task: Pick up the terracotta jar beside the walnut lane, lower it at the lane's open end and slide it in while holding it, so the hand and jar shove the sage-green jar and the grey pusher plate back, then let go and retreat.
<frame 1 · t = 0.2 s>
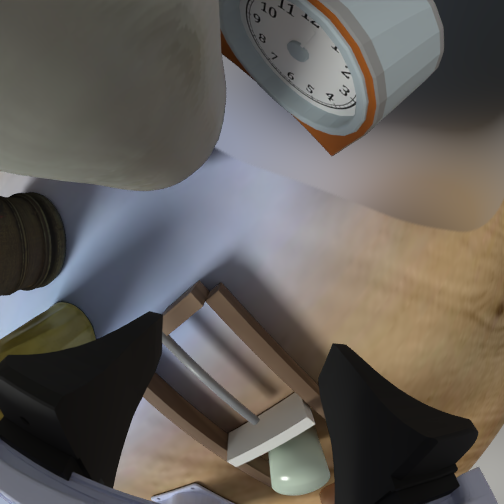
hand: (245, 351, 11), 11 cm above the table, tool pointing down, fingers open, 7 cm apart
vase: (72, 331, 22), on the table
alarm clock: (299, 67, 20), on the table
pusher: (216, 387, 20), point 2 cm above the table, slide at 0.0 cm
container: (35, 239, 21), on the table
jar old: (291, 435, 24), on the table
lane: (253, 404, 23), on the table
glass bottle: (169, 134, 20), on the table
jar: (337, 490, 26), on the table
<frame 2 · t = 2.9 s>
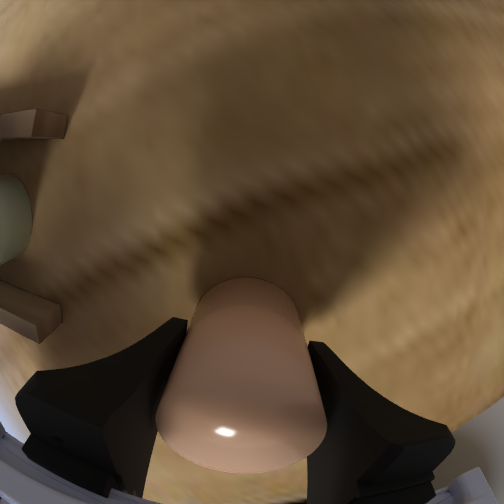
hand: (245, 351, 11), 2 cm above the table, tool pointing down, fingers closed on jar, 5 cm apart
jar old: (7, 216, 12), on the table
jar: (246, 326, 13), on the table, touching gripper
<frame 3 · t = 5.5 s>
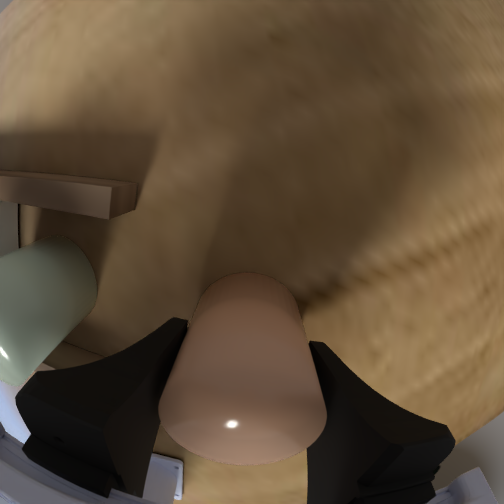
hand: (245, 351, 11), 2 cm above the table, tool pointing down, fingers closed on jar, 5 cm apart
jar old: (61, 278, 13), on the table
lane: (0, 258, 13), on the table
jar: (247, 321, 13), on the table, touching gripper
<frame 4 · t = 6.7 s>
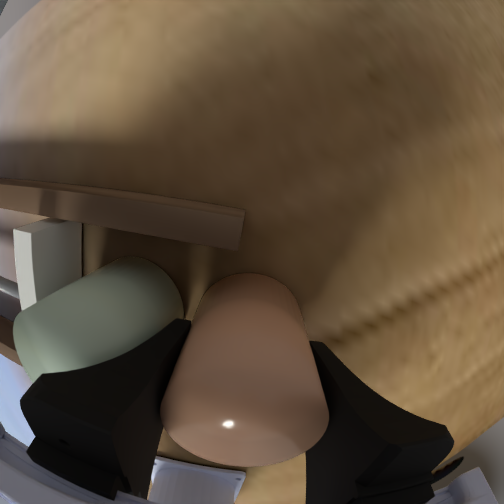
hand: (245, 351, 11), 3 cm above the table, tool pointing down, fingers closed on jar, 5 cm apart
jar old: (138, 304, 13), on the table, tilted 7°, touching gripper
lane: (51, 281, 13), on the table
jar: (248, 321, 13), on the table, touching gripper
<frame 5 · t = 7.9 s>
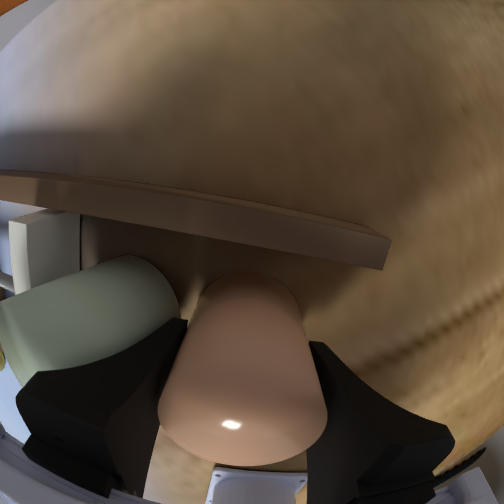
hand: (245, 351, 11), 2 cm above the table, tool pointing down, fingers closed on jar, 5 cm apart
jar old: (136, 307, 12), point 1 cm above the table, tilted 16°, touching gripper, pusher
lane: (127, 297, 13), on the table
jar: (247, 320, 13), on the table, touching gripper
when the fingers open (3 cm above the table, at t = 9.3 s): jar stays where it is, on the table.
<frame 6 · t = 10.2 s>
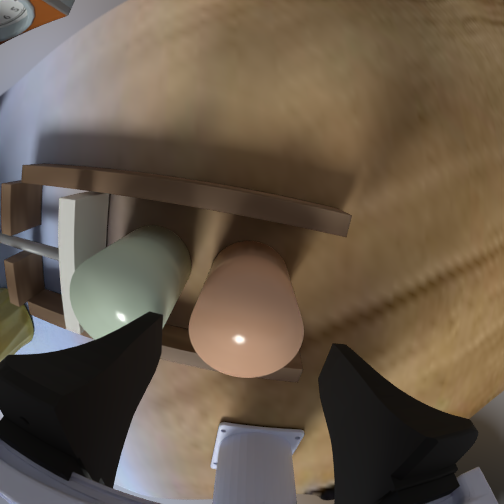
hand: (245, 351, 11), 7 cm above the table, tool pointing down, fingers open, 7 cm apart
vase: (15, 314, 20), on the table
alarm clock: (28, 6, 11), on the table
pusher: (19, 243, 15), point 2 cm above the table, slide at 6.4 cm
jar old: (154, 262, 18), on the table
lane: (158, 263, 18), on the table
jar: (249, 278, 18), on the table
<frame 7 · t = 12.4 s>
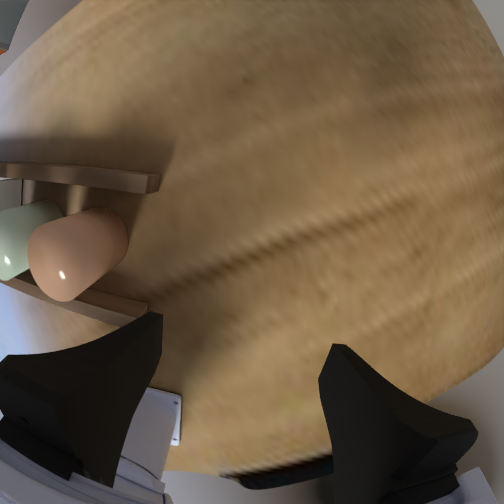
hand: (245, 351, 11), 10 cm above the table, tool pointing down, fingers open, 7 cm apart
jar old: (46, 228, 20), on the table
lane: (48, 228, 20), on the table
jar: (101, 238, 20), on the table
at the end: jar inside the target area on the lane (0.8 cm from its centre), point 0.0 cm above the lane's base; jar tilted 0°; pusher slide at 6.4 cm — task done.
